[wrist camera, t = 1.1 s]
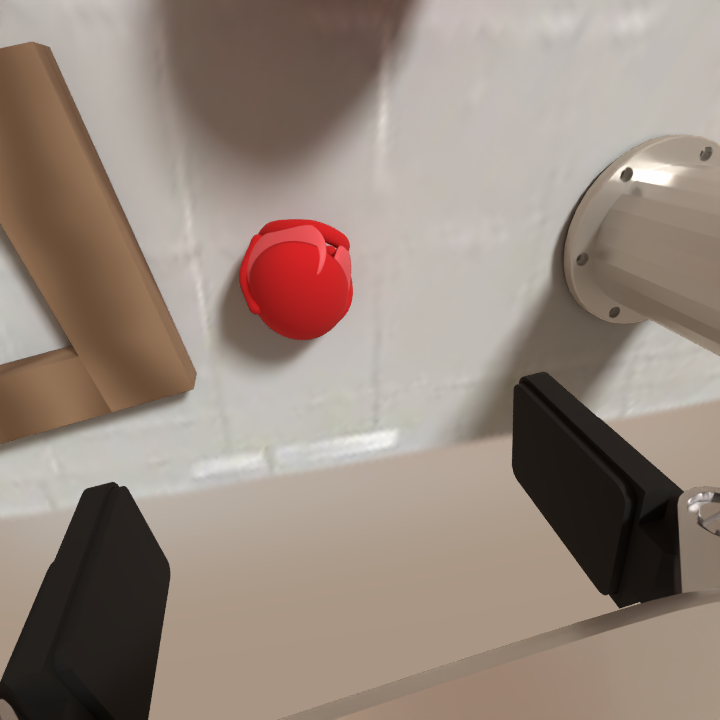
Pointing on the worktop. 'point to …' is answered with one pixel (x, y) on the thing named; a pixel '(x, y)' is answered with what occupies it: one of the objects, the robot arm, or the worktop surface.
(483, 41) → the worktop surface
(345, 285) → the red rounded piece
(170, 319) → the walnut board
